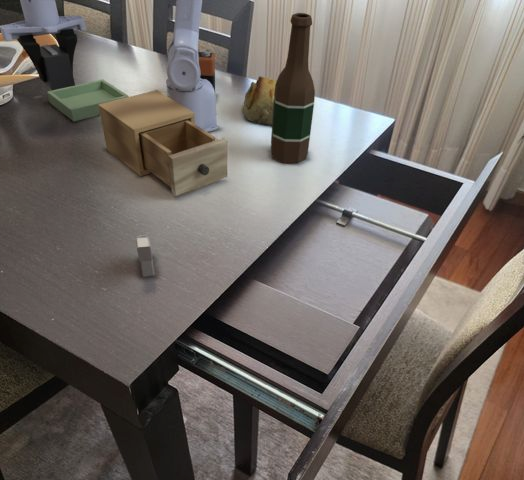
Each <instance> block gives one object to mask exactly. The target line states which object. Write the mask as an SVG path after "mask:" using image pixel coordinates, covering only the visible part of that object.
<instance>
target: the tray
mask: <svg viewBox="0 0 524 480" xmlns="http://www.w3.org/2000/svg"><path fill="white" fill-rule="evenodd" d="M46 93H47V94H46V95H47V97H48V101H49V104H50V105H52V106H53V107H54V108H55V109H57V110H58V111H59V112H61V113H62V114H64V116H66V117H67V118H68V119H69V120H71V121H72V122H74V123H75V122H78V121H82V120H86V119H90V118H94V117H98V116H100V112H99V107H98V104H102V103H106V102H110V101H114V100H118V99H122V98H126V97H130V95H128V94H127V93H125V92H124V91H122V90H121V89H119V88H118V87H116V86H114V85H113V84H111V83H110V82H108V81H107V80H105V79H98V80H94V81H89V82H84V83H80V84H75V86H71V87H66V88H61V89H56V90H48V91H46Z"/></svg>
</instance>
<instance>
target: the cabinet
mask: <svg viewBox="0 0 524 480" xmlns="http://www.w3.org/2000/svg"><path fill="white" fill-rule="evenodd" d="M98 107H99V112H100V115H99V116H100V122H101V127H102V132H103V137H104V142H105V147H106V151H108V152H109V153H110V154H112V155H113V156H114V157H115V158H117V159H118V160H119V161H120V162H122V163H123V164H124V165H126V166H127V167H128V168H129V169H130V170H132V171H133V172H134V173H135V174H137V175H138V176H140V177H142V176H146V175H149V174H153V173H152V172H150V171H149V170H148V169H146V168H145V167H144V166H143V159H142V152H141V144H140V137H139V133H141V132H144V131H147V130H151V129H154V128H158V127H161V126H165V125H168V124H172V123H175V122H179V121H182V120H186V119H187V120H189V121H190V122H192V123H194V124H195V119H194V112H192V111H191V110H189V109H187V108H186V107H184V106H182V105H181V104H179V103H177V102H176V101H174V100H172V99H171V98H169V97H167V95H166V94H164V93H163V92H161V91H159V90H157V89H155V90H151V91H147V92H143V93H138V94H135V95H131V96H129V97H126V98H122V99H118V100H114V101H110V102H106V103H102V104H98Z"/></svg>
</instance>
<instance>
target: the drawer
mask: <svg viewBox="0 0 524 480" xmlns="http://www.w3.org/2000/svg"><path fill="white" fill-rule="evenodd" d="M139 137H140V144H141V152H142V159H143V166H144V167H145V168H146V169H148V170H149V171H150V172H152V173H151V174H153V175H154V176H155V177H157V178H158V179H159V180H161V181H162V182H163V183H165V184H166V185H168V186H169V187H170V188H171V194H172V195H174V197H177V196H180V195H182V194H184V193H187V192H190V191H193V190H196V189H198V188H201V187H204V186H207V185H209V184H211V183H214V182H217V181H220V180H223V179H226V178H227V177H228V140H227V139H226V138H224V137H222V138H219V139H216V136H214V134H211V133H210V132H206V131H205V130H203V129H202V128H200V127H198V126H197V125H195V124H194V123H192V122H190V121H189V120H187V119H186V120H182V121H179V122H175V123H172V124H168V125H165V126H161V127H158V128H154V129H151V130H147V131H144V132H141V133H139Z"/></svg>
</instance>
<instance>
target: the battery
mask: <svg viewBox="0 0 524 480" xmlns="http://www.w3.org/2000/svg"><path fill="white" fill-rule="evenodd" d="M198 54H199V67H200V73H201V75H200V78H201V79H206V80H208V81H209V82H210V83H211V84H212V86H213V88H214V91H215V92H216V62H215V61H216V59H215V57H216V56H215V55H216V54H215V53H214V52H211V50H210V49H208V48H203V49H201V50H200V51H198Z"/></svg>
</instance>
